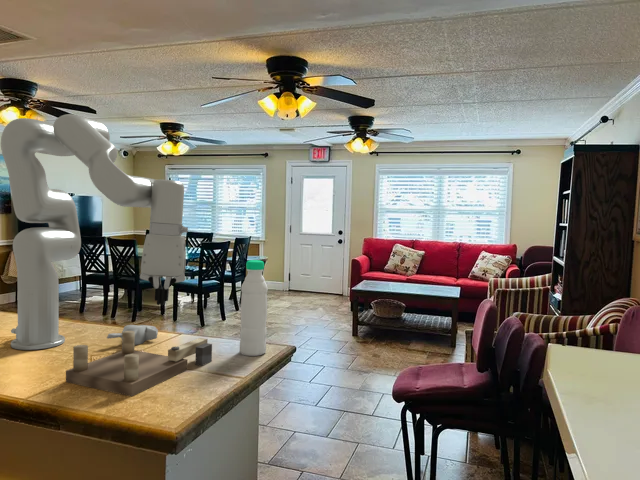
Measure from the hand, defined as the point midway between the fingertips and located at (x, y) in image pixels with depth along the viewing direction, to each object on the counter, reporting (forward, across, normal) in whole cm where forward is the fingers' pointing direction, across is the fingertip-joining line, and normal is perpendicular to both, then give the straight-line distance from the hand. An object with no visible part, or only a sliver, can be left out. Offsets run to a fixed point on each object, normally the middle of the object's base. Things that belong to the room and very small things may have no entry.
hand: (161, 303), depth 117 cm
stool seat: (+14, +2, +8) cm, 16 cm away
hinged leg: (+11, -8, +4) cm, 14 cm away
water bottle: (+14, -24, -6) cm, 28 cm away
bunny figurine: (+15, +9, -16) cm, 24 cm away
